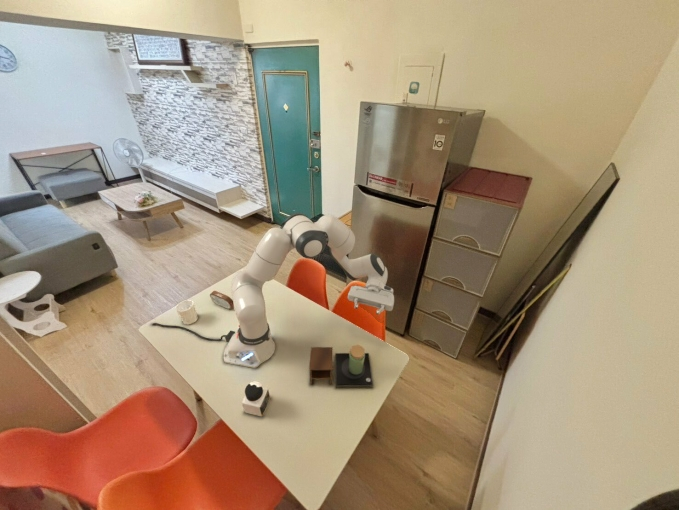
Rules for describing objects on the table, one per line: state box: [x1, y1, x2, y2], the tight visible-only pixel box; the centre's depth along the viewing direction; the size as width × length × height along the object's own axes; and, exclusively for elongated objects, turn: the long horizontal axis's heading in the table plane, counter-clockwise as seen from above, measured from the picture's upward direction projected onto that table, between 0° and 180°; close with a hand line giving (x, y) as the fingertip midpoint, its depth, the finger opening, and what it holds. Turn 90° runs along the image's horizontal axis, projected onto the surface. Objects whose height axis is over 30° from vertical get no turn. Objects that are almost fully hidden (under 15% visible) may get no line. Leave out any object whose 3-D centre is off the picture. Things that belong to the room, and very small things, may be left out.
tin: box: [209, 290, 234, 310], centre depth 141 cm, size 15×3×8 cm, turn 65°
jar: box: [348, 344, 366, 374], centre depth 110 cm, size 6×6×11 cm
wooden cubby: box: [308, 346, 334, 385], centre depth 110 cm, size 9×10×11 cm
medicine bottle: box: [241, 380, 271, 417], centre depth 98 cm, size 7×7×12 cm
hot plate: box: [334, 352, 374, 389], centre depth 113 cm, size 15×15×3 cm
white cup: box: [175, 299, 199, 325], centre depth 132 cm, size 8×8×10 cm
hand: (366, 310), depth 110 cm, fingers open, 8 cm apart
